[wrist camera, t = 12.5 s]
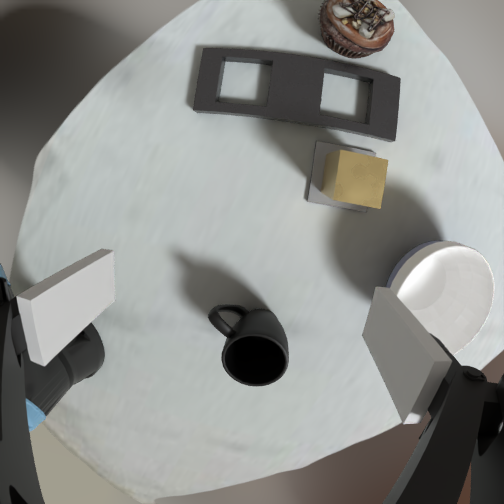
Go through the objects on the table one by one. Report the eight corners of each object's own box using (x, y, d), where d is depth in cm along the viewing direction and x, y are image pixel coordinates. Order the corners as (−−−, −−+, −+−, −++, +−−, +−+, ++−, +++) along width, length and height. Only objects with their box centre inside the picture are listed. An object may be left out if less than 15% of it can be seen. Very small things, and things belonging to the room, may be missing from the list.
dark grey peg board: (197, 112, 38) (193, 110, 36) (207, 52, 36) (203, 48, 34) (390, 142, 36) (395, 141, 35) (395, 81, 34) (400, 78, 32)
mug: (246, 268, 43) (237, 296, 34) (299, 329, 45) (302, 366, 36) (204, 301, 45) (186, 333, 36) (256, 356, 47) (250, 396, 38)
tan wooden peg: (320, 192, 39) (332, 200, 29) (326, 154, 37) (340, 149, 28) (357, 198, 38) (380, 209, 29) (363, 161, 37) (388, 160, 27)
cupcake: (392, 32, 32) (417, 4, 22) (362, 77, 35) (384, 53, 25) (335, -2, 31) (346, -39, 22) (301, 40, 34) (306, 6, 24)
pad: (307, 201, 40) (307, 201, 39) (316, 141, 38) (316, 140, 37) (365, 211, 39) (366, 212, 39) (374, 153, 37) (376, 152, 37)
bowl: (349, 299, 43) (364, 332, 34) (411, 207, 38) (443, 218, 29) (421, 343, 44) (443, 376, 35) (477, 263, 39) (511, 284, 30)
